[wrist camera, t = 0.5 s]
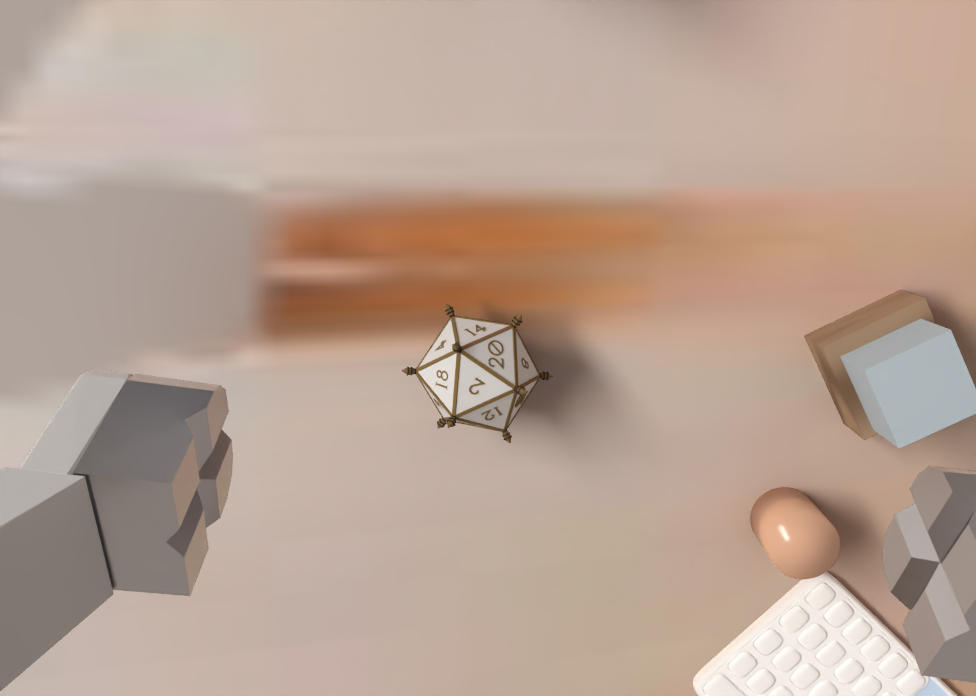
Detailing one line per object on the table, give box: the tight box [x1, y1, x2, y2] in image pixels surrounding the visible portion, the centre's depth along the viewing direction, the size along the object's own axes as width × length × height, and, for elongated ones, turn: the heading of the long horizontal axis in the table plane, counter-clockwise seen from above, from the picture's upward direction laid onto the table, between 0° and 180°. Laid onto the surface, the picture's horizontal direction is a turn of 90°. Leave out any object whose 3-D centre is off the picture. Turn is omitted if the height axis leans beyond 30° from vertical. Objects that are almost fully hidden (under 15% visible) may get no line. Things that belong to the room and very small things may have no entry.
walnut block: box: [804, 290, 936, 440], centre depth 60 cm, size 7×7×4 cm
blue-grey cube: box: [841, 319, 976, 449], centre depth 56 cm, size 6×6×4 cm
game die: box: [402, 304, 553, 443], centre depth 58 cm, size 9×8×10 cm
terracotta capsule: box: [750, 487, 840, 579], centre depth 62 cm, size 5×5×5 cm
